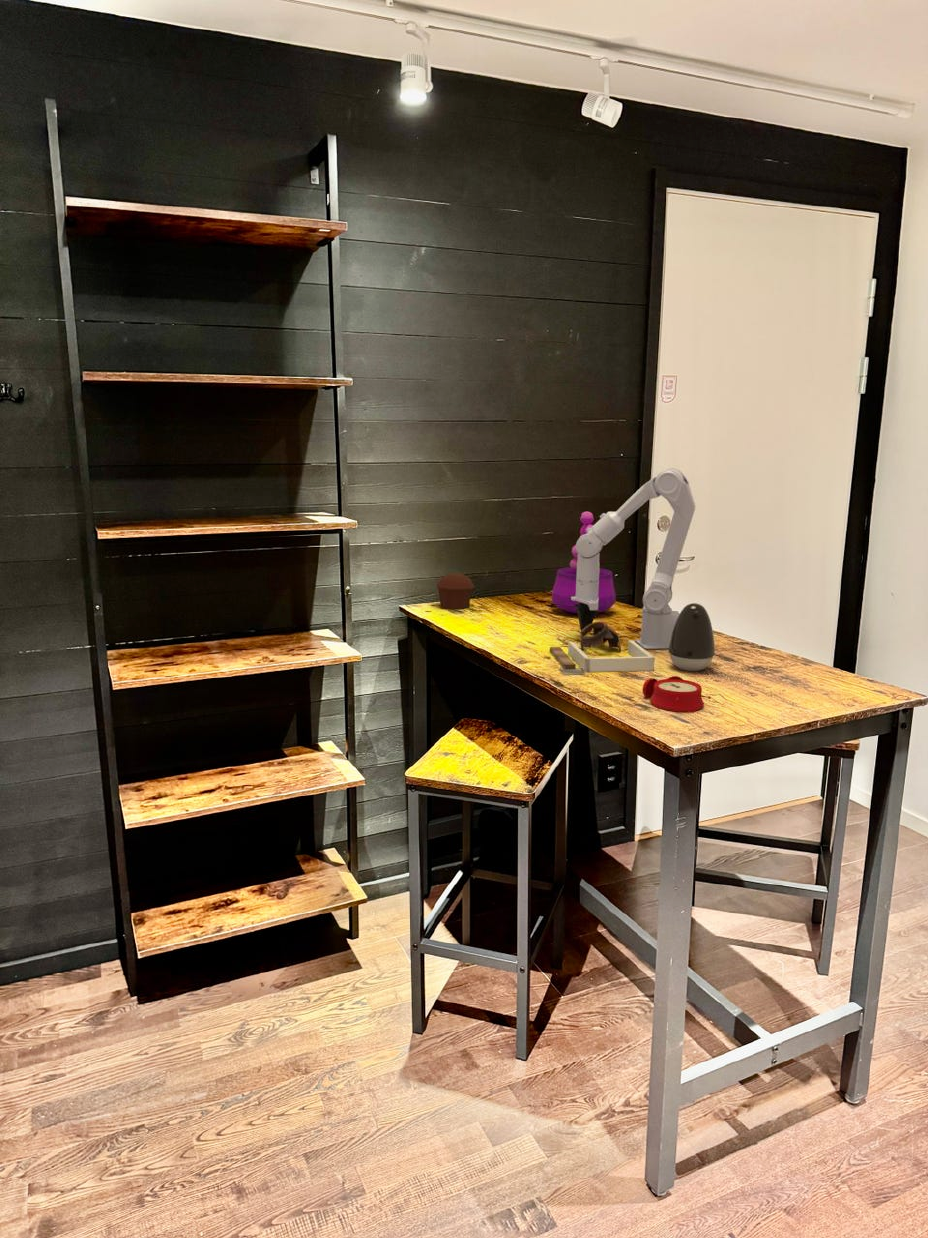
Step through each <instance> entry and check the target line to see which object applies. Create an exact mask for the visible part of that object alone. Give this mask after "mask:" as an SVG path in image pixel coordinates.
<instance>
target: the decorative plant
mask: <svg viewBox="0 0 928 1238" xmlns="http://www.w3.org/2000/svg"><path fill="white" fill-rule="evenodd" d="M593 515H594V514H593V513H592V512H591V511H583V512H582V513H581V516H580V517H579V519H580V522H581V524H583V525H582V527H581V528H580V531H579V532H580V536H582V535H584V534H587V533H588V532H587V531H586V530H587V529H588V528H589V527H590V528H591V527H592V526H594V524H593V522H594V519H595V518H594V516H593ZM571 554H572V556H573V559H571V560H570V562H569V566H570V567H569V566H568V567H562V568H559V569H557V572H556V577H555V582H554V585H553V587H552V590H551V591H552V593H551V601H552V603H553V604H554V605H555V606H556V607H557V608H558V609H560V610H562V611H565V612H568V613H571V614H576V615H578V614H577V611H576V609H575V607H574V605H575V604H580V603H581V602H578V601H573V600H571V597H575V596H576V577H577V562H578V552H577V550H576V544H575V545H573V546H572V548H571ZM598 597H599V601H598V607H599V610H598V612H597V613H596V614H598V613H603V612H605V611H608V610H610V609H611V608H612V607H613V605H615V603H616V591H615V587H614V580H613V572H612V571H611V570H609V569H605V568H601V567H599V588H598Z"/></svg>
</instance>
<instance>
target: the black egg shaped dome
mask: <svg viewBox="0 0 928 1238" xmlns="http://www.w3.org/2000/svg"><path fill="white" fill-rule="evenodd" d="M713 631H714V630H713V627H712V622H711V618H710V616H709V614H708V611H707V610H706V608H705V607H704V606H703V605H702V604H699V603H695V602H693V603H688V604H687V605H685V606H684V607H683V609H682V610H681V611H680V612H679V616H678V618H677V621H676V623H675V626H674V629H673V632H672V635H671V639H670V643H669V648H668V653H669V656H670V659H671V662H672V664H673V665H674V666H675V667H677V668H678V669H680V670H682V671H687V672H699V671H703V670H704V669H706V668H707V667H708V666H709V665H710V664H711V663H712V661H713V657H714V656H715V651H716V648H715V637H714V632H713Z"/></svg>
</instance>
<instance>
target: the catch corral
mask: <svg viewBox="0 0 928 1238" xmlns="http://www.w3.org/2000/svg"><path fill="white" fill-rule="evenodd" d="M627 643H628V645H627V653H628V654H629V655H630V656H622V657H621V656H614V657H609V656H607V657H589V656H588V655H587V654H586V653H585V652H584V651H583V650H582V649H581V647H579V646H578V645H577V644H576V643H574V642H573V641H568V644H567V646H568V648H567V649H568V650H567V655H568V656H569V657H570V658H571V659H573V661H575V662H574V663H575V664H577V665H578V666H579V668H580V669H581V670H582V671H583V672H584V673H601V672H602V673H604V672H640V671H641V672H642V671H644V672H647V671H655V661H656V657H655V656H654V655H652V654H651V653H649V652H648V651H647V649H644V648H643V647H642V646H640V645H639V644H638V643H636V642H635V640H630V639H629V640H628V642H627Z"/></svg>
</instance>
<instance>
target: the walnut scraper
mask: <svg viewBox="0 0 928 1238" xmlns="http://www.w3.org/2000/svg"><path fill="white" fill-rule="evenodd" d="M549 653H550V654H551V656H554V657H555V658H554V657H553V658H554V659H555V660H556V662H559V663H558V664H559V665H560V666H561V667H560V668H559V667H558V670H559V672H560V671H561V672H560V673H561V675H563V676H585V675H586V672H585V671H584V670H583V669H582V668H581V667H577V666H576V664H577V663H576V662H574V660H572V658H571V657H570V655H569V654H568V653H566V652H565V651H564V650H563V649H562V647H560V646H549Z"/></svg>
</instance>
